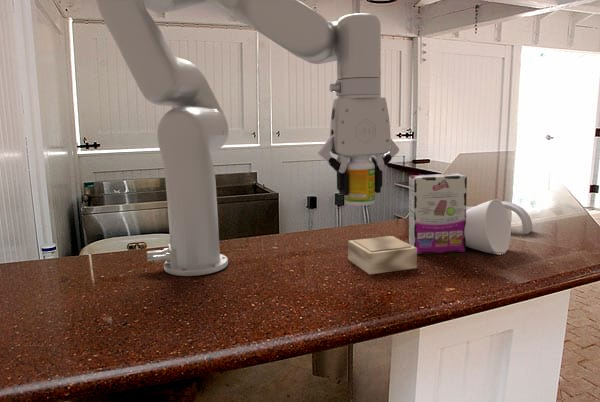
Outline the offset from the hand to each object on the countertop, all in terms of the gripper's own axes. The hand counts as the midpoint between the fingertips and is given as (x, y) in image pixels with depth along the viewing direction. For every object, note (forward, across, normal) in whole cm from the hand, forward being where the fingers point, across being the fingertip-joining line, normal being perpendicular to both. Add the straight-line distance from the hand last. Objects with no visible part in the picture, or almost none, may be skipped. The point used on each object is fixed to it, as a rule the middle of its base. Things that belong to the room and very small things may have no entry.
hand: (359, 192), depth 87 cm
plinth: (+16, +6, +5) cm, 18 cm away
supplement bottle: (+2, 0, 0) cm, 2 cm away
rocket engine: (+16, +30, +11) cm, 36 cm away
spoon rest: (+16, +44, +24) cm, 53 cm away
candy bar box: (+16, +21, +9) cm, 28 cm away
